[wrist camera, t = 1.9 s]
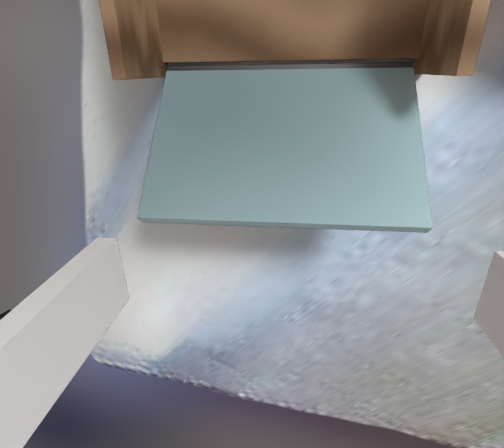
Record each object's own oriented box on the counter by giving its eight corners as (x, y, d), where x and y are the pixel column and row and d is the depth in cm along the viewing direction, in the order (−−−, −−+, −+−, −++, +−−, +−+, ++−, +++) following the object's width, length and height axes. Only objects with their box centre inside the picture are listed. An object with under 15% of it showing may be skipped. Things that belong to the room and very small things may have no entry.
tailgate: (168, 63, 30) (137, 217, 25) (412, 58, 28) (432, 227, 23) (171, 71, 31) (142, 222, 26) (408, 68, 29) (427, 232, 24)
